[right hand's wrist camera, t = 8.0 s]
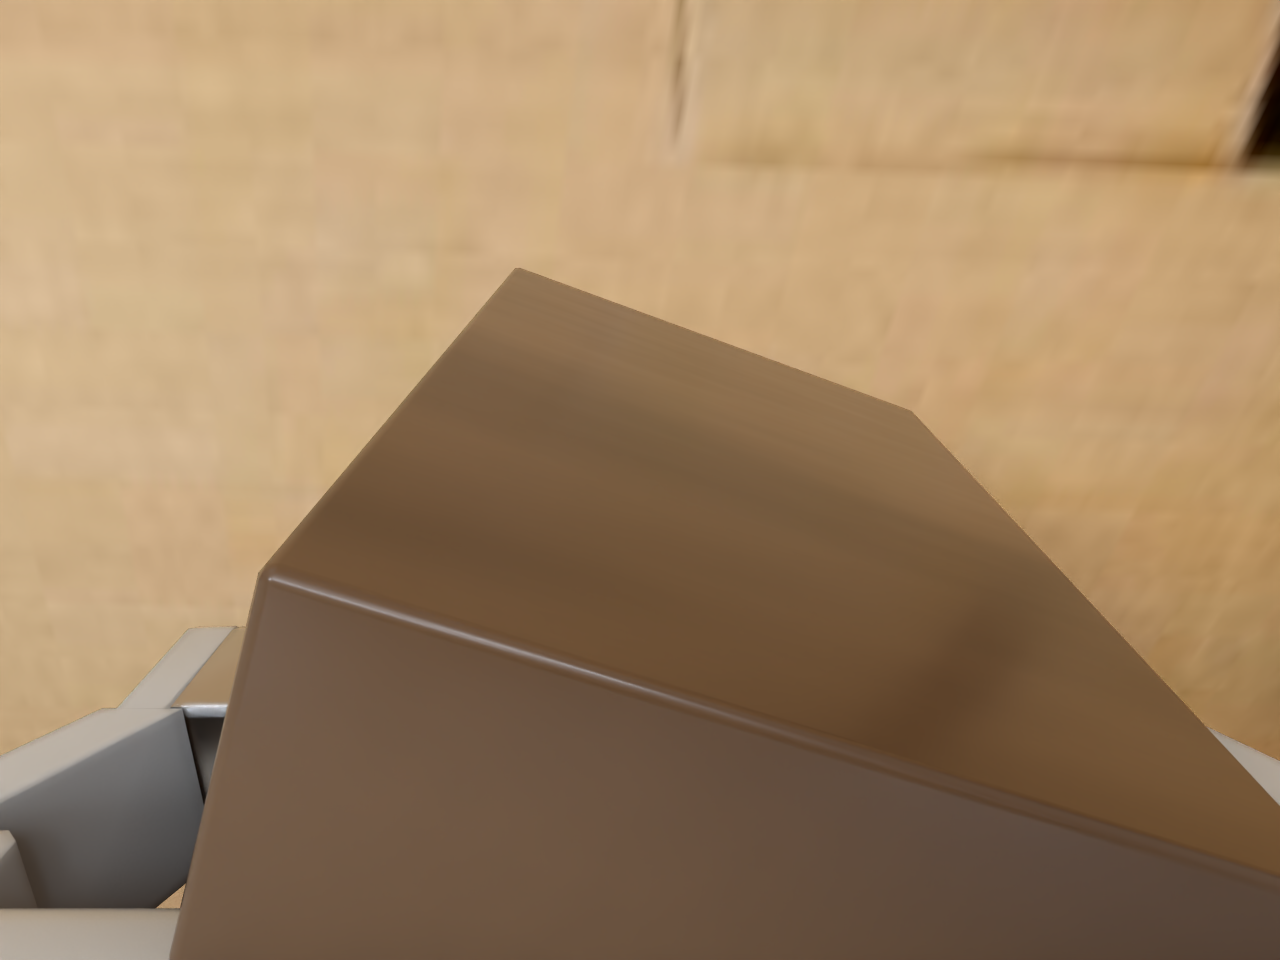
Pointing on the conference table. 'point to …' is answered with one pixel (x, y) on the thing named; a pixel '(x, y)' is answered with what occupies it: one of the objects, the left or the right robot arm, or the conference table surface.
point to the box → (696, 691)
